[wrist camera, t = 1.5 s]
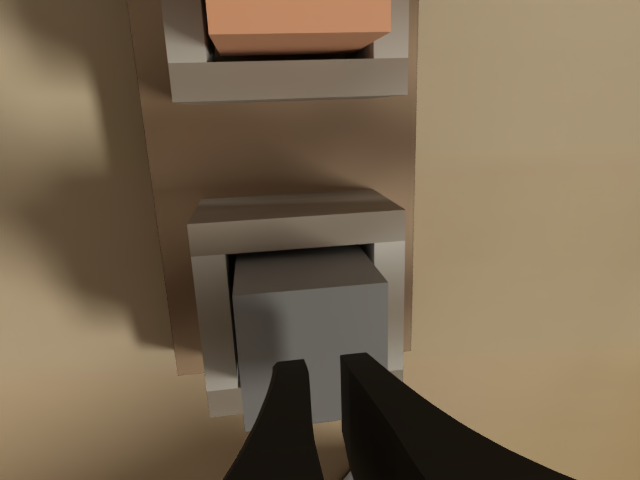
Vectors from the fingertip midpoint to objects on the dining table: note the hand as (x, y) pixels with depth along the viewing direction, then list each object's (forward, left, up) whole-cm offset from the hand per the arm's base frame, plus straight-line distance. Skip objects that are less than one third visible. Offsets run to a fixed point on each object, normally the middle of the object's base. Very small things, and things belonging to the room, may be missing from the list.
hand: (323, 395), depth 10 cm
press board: (+4, +3, -10) cm, 11 cm away
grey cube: (0, 0, -6) cm, 6 cm away
